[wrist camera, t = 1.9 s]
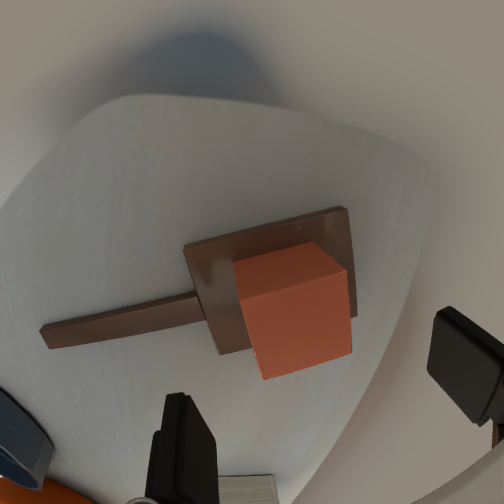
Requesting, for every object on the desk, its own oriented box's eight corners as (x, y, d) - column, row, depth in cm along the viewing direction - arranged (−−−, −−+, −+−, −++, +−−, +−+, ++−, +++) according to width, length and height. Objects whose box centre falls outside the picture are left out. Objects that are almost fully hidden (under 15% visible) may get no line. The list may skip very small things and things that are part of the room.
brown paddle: (27, 290, 15) (21, 295, 14) (341, 205, 15) (347, 208, 15) (71, 372, 17) (67, 378, 16) (352, 310, 18) (357, 316, 17)
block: (232, 261, 15) (238, 300, 11) (312, 240, 15) (347, 270, 11) (251, 330, 16) (262, 380, 12) (322, 310, 16) (352, 353, 12)
